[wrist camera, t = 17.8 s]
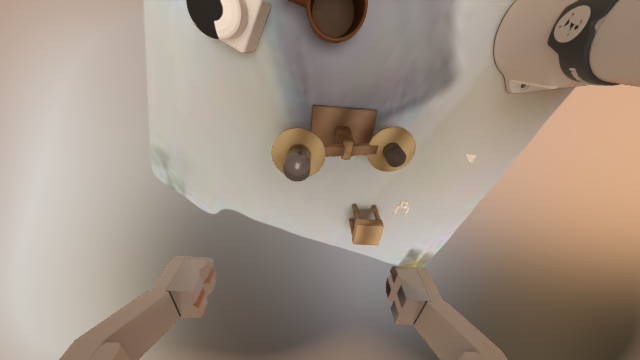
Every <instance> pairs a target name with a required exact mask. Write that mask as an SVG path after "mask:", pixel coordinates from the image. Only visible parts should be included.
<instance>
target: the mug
mask: <svg viewBox="0 0 640 360" xmlns="http://www.w3.org/2000/svg"><path fill="white" fill-rule="evenodd" d="M288 1H291V2H293V3H296V4H298V5H301V6H303V7H306V8H307V15H308V19H309V22H310V25H311V27H312V29H313V31H314V32H315V33H316V34H317V35H318V36H319V37H320V38H321V39H323V40H325V41H328V42H332V43H339V42H343V41H346V40H347V39H349V38H351V37H352V36H353V35H354V34H355V33H356V32H357V31H358V30H359V29H360V27H361V26H362V24H363V22H364V19H365V17H366V13H367V6H368V0H288Z"/></svg>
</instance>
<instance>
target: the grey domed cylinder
mask: <svg viewBox="0 0 640 360" xmlns="http://www.w3.org/2000/svg"><path fill="white" fill-rule="evenodd" d="M310 166H311V152H310V150H309V149H308V148H307V147H306V146H304V145H302V144H295V145H293V146H291V147H290V148H289V149H288V151H287V155H286V159H285V163H284V167H283V171H284V174H285V176H286V177H287V178H288V179H290V180H292V181H302V180H305V179H306V178H307V177H308V176H309V174H310Z"/></svg>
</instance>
